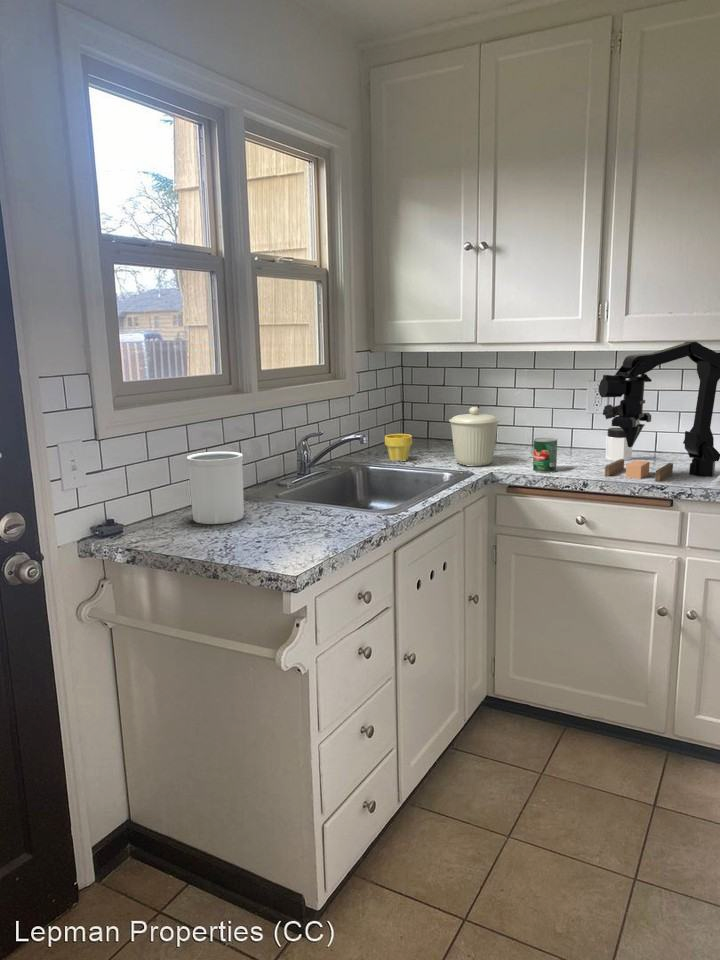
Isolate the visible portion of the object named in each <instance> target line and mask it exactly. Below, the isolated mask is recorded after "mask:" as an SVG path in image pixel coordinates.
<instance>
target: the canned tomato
mask: <svg viewBox="0 0 720 960" xmlns="http://www.w3.org/2000/svg"><path fill="white" fill-rule="evenodd" d="M557 457H558V439H557V438H554V437H537V438H533V459H532V461H533V463H532V465H533V466H532V467H533V468H532V471H533V472H534V471H535V473H539V474H540V473H541V474H546V473H547V474H551V472H552V473H555V471H556V472H557V461H558V460H557V459H558V458H557Z"/></svg>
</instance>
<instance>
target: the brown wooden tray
mask: <svg viewBox="0 0 720 960" xmlns="http://www.w3.org/2000/svg"><path fill="white" fill-rule="evenodd" d="M604 467H605V468H604V470H605V471H604V477H605V478H606V477H607V478H609V477H612V476H613V475H615V474H617V473H619V472H621V471H622V470H624V469H625V461H624V459H619V460H617V461H616V460H614V462H610V464H607V465H605V466H604ZM659 468H660V469H655V477H654V478H655V479H654V481H655V482H658V483H659V482H661V481H663V480H664V479H666V478H667V477H669V476H671V475H673V472H674V463H673V462H668V463H667V464H665V465H663V466H661V467H659Z"/></svg>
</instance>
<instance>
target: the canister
mask: <svg viewBox="0 0 720 960" xmlns="http://www.w3.org/2000/svg"><path fill="white" fill-rule="evenodd" d="M468 412H469V413H467V414H465V413H464V414H458V415H454V416H453V417H452V418H450V419H448V421H449V423H450V427H451V435H452V443H453V452H454V457H455V460H456V463H457V464H458V463H459V464H458V465H460V464H463V465H462V466H464V465H473V466H472V467H482V466H481V465H484V466H489V465H490V464H491V463H492V461H493V460H494V455H495V449H496V441H497V432H498V423H499V422H500V419H499V418H497V417H496V416H495V415H493V414H486V413H480V408H479V407H476V406H473V407H470V408H469V410H468Z"/></svg>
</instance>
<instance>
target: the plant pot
mask: <svg viewBox="0 0 720 960" xmlns="http://www.w3.org/2000/svg"><path fill="white" fill-rule="evenodd" d="M384 445H385V446H386V447H387V448H386V449H387V452H388V457H389V460H390V459H391V460H407V459H409V455H410V454H409V453H410V449H411V446H412V445H413V435H411V434H408V433H393V434H392V433H391V434H387V435H385V436H384ZM407 461H408V460H407Z"/></svg>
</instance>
